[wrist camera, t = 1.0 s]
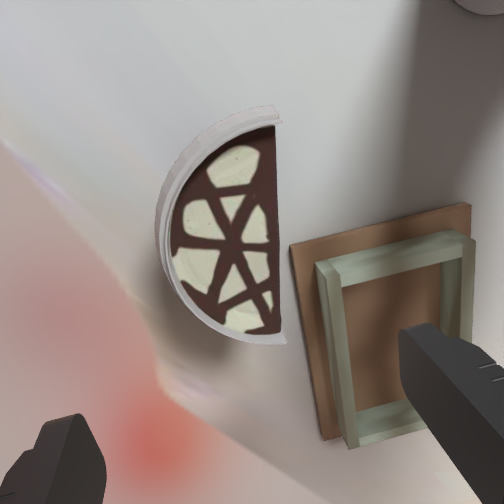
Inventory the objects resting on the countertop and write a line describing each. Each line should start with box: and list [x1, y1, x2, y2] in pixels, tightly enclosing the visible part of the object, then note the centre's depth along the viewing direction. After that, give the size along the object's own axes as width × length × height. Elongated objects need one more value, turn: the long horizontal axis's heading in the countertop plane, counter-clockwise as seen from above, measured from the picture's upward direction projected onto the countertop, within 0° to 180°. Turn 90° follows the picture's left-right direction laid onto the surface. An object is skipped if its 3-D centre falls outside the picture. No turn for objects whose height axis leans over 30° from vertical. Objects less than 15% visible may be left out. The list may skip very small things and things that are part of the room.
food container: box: [155, 105, 287, 345], centre depth 23 cm, size 12×6×10 cm, turn 3°
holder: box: [290, 202, 476, 450], centre depth 33 cm, size 14×20×4 cm
